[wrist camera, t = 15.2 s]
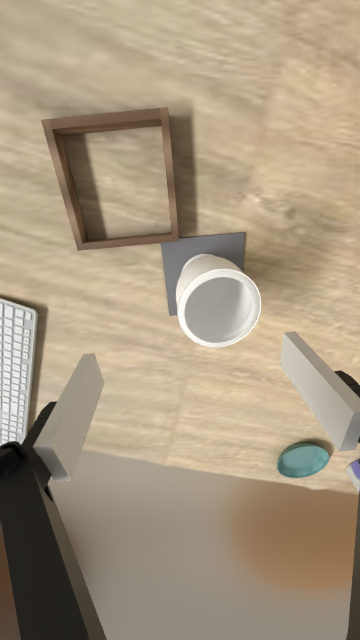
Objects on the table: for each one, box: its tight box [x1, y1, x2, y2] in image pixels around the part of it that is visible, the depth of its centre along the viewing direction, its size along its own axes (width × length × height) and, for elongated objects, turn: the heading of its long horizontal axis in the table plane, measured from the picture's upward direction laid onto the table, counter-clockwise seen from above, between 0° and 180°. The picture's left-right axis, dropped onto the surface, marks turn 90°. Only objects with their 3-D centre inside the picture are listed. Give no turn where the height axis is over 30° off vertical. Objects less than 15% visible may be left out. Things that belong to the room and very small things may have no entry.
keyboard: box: [0, 298, 39, 446], centre depth 51 cm, size 44×12×2 cm, turn 160°
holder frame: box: [41, 107, 179, 251], centre depth 33 cm, size 16×16×3 cm
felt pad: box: [161, 232, 244, 316], centre depth 41 cm, size 14×14×1 cm
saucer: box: [277, 443, 329, 478], centre depth 66 cm, size 15×15×3 cm
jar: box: [176, 254, 261, 347], centre depth 34 cm, size 11×10×15 cm
